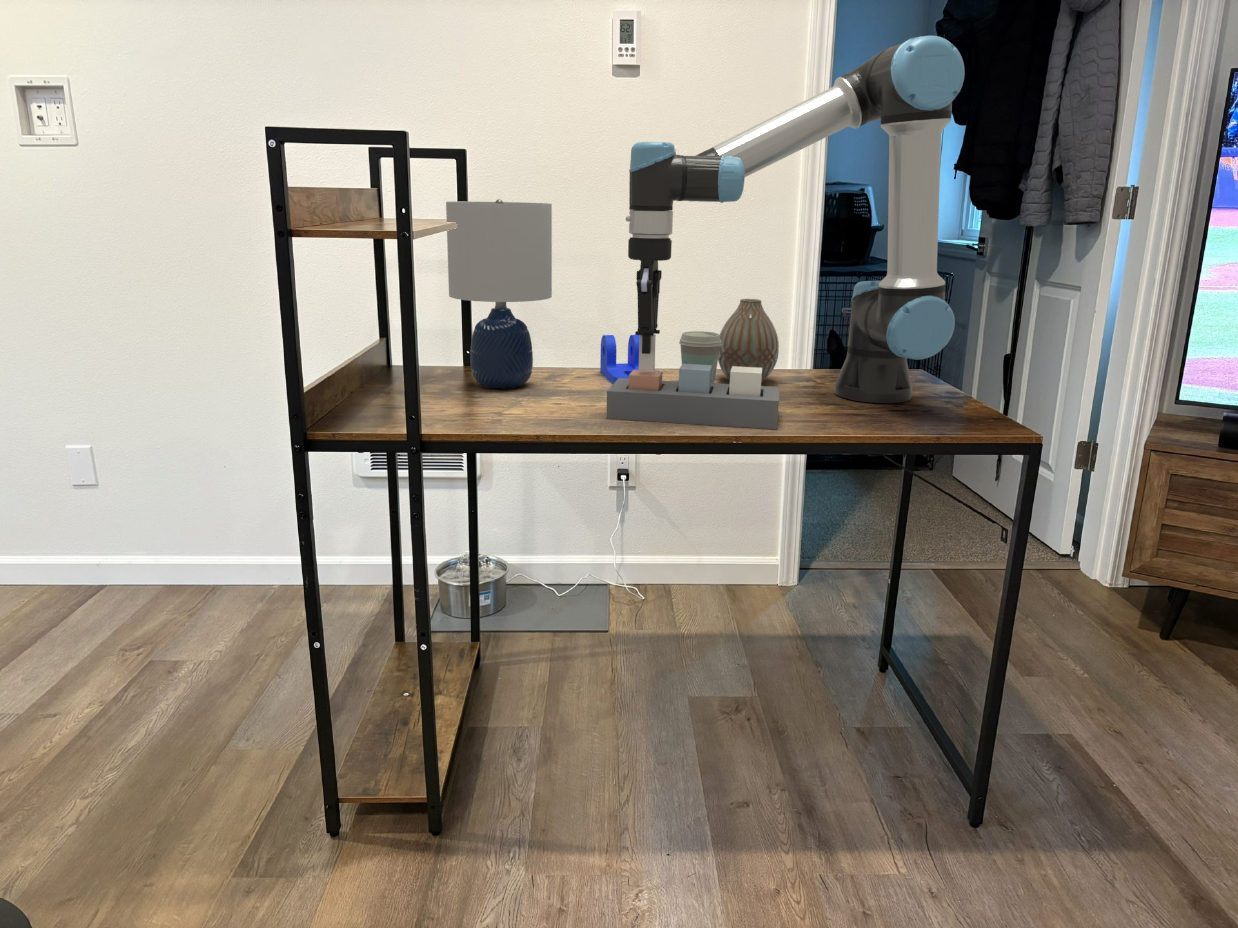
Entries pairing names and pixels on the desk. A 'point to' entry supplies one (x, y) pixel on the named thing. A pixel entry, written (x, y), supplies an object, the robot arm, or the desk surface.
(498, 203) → the lamp
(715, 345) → the coffee cup
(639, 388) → the terracotta key
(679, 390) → the slate key
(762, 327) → the vase
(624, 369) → the bracket
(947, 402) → the desk surface
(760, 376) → the white key
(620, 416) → the grey socket block
